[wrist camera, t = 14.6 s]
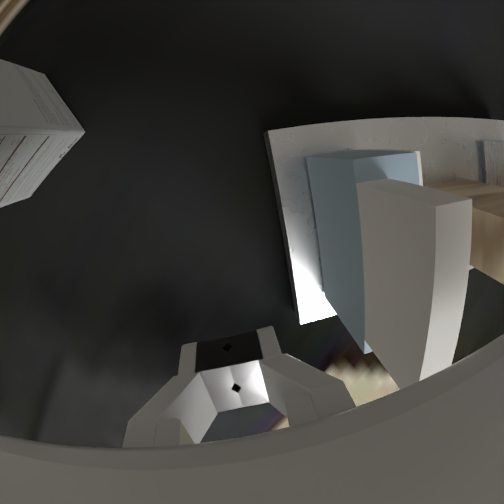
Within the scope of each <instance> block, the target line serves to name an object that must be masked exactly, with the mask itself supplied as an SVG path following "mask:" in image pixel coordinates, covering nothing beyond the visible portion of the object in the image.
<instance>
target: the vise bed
mask: <svg viewBox="0 0 504 504" xmlns="http://www.w3.org/2000/svg"><path fill="white" fill-rule="evenodd" d="M263 134H264V139H265V144H266V149H267V155H268V160H269V165H270V170H271V175H272V181H273V186H274V191H275V197H276V202H277V208H278V213H279V219H280V225H281V230H282V236H283V242H284V248H285V254H286V260H287V266H288V272H289V278H290V284H291V291H292V297H293V304H294V310H295V313H296V315H297V317H298V320H299V322H300V324H304V323H308V322H312V321H315V320H319V319H323V318H326V317H330V316H334V315H337V314H336V312H335V311H334V309H333V308H332V307H331V305H330V304H329V302H328V301H327V300H326V298H325V294H324V284H323V275H322V266H321V257H320V249H319V241H318V233H317V226H316V219H315V212H314V205H313V198H312V192H311V186H310V179H309V173H308V167H307V162H306V156H312V155H319V154H326V153H333V152H340V151H348V150H359V149H391V150H412V151H420V158H421V168H422V179H423V186H429V185H435V184H441V183H448V182H454V181H460V180H467V179H468V180H473V181H478V182H482V183H486V184H491V185H495V186H499V187H503V188H504V120H493V119H479V118H459V117H399V118H377V119H362V120H350V121H339V122H329V123H320V124H312V125H304V126H297V127H290V128H283V129H277V130H270V131H267V132H265V133H263ZM472 268H475V267H473V266H471V265H469V270H470V269H472Z"/></svg>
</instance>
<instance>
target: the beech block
mask: <svg viewBox="0 0 504 504" xmlns="http://www.w3.org/2000/svg"><path fill="white" fill-rule="evenodd" d="M425 187H429V188H433V189H437V190H441V191H445V192H449V193H453V194H457V195H460V196H464V197H468V198H471V199H472V235H471V251H470V263H469V265H471V266H473V267H475V268H476V269H478V270H480V271H482V272H483V273H485V274H487V275H489V276H490V277H492V278H494V279H495V280H497V281H499V282H500V283H502V284H504V188H503V187H499V186H495V185H491V184H486V183H482V182H478V181H473V180H468V179H467V180H460V181H454V182H448V183H441V184H435V185H429V186H425Z"/></svg>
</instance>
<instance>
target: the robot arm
mask: <svg viewBox="0 0 504 504" xmlns="http://www.w3.org/2000/svg"><path fill="white" fill-rule="evenodd" d="M257 333H258V334H257ZM258 337H259V338H258ZM267 402H269V403H270V404H271V405H272V406H274V407H275V408H276V409H277V410H278V411H280V412H281V413H282V414H283V415H285V416H286V417H287V418H288V421H289V426H290V427H287V428H283V429H279V430H274V431H270V432H265V433H260V434H255V435H250V436H245V437H239V438H233V439H227V440H220V441H213V442H205V443H200V441H201V440H202V438H203V436H204V435H205V433H206V432H207V430H208V428H209V427H210V425H211V423H212V422H213V420H214V418H215V417H216V415H217V412H221V411H226V410H231V409H236V408H241V407H246V406H252V405H257V404H262V403H267ZM0 504H504V334H503V335H501V336H500V337H498V338H496V339H495V340H493V341H492V342H490V343H489V344H487V345H485V346H484V347H482V348H481V349H479V350H477V351H476V352H474V353H472V354H470V355H469V356H467V357H465V358H463V359H462V360H460V361H458V362H456V363H454V364H453V365H451V366H449V367H447V368H445V369H443V370H441V371H439V372H437V373H435V374H433V375H431V376H429V377H427V378H425V379H423V380H421V381H419V382H416V383H414V384H412V385H410V386H408V387H405V388H403V389H401V390H399V391H396V392H394V393H392V394H389V395H387V396H384V397H382V398H379V399H377V400H374V401H372V402H369V403H366V404H363V405H361V406H358V407H356V405H355V403H354V402H353V400H352V398H351V396H350V394H349V392H348V390H347V388H346V386H345V384H344V382H343V381H341V380H339V379H337V378H335V377H333V376H331V375H329V374H327V373H324V372H322V371H320V370H318V369H316V368H314V367H312V366H310V365H308V364H306V363H304V362H302V361H300V360H298V359H296V358H294V357H292V356H290V355H288V354H283V355H282V353H281V350H280V347H279V344H278V341H277V338H276V335H275V332H274V329H273V327H272V326H268V327H265V328H261V329H257V330H254V331H250V332H246V333H242V334H238V335H234V336H229V337H222V338H217V339H211V340H206V341H200V342H194V343H189V344H184V345H183V346H182V348H181V355H180V362H179V369H178V376H173V377H172V378H171V379H170V380H169V381H168V382H167V383H166V384H165V385H164V386H163V387H162V388H161V389H160V390H159V391H158V392H157V393H156V394H155V395H154V396H153V397H152V398H151V399H150V400H149V401H148V402H147V403H146V404H145V405H144V406H143V407H142V408H141V409H140V410H139V411H138V412H137V413H136V414H135V415H134V416H133V417H132V418H131V419H129V420H128V424H127V429H126V433H125V437H124V441H123V446H122V448H111V447H86V446H72V445H62V444H53V443H45V442H38V441H31V440H25V439H20V438H15V437H10V436H5V435H0Z"/></svg>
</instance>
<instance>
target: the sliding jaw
mask: <svg viewBox="0 0 504 504" xmlns="http://www.w3.org/2000/svg"><path fill="white" fill-rule="evenodd" d="M306 162H307V167H308V173H309V179H310V186H311V192H312V198H313V205H314V212H315V219H316V226H317V233H318V241H319V249H320V257H321V266H322V275H323V284H324V294H325V298H326V300H327V301H328V302H329V304H330V305H331V307H332V308H333V309H334V311H335V312H336V314H337V315H338V317H339V318H340V319H341V321H342V322H343V324H344V325H345V327H346V328H347V329H348V331H349V332H350V334H351V335H352V337H353V338H354V340H355V341H356V342H357V344H358V345H359V347H360V348H361V350H362V351H363V353H364V354H366V353H369V352H372V351H373V352H374V353H375V355H376V356H377V357H378V359H379V360H380V362H381V363H382V364H383V366H384V367H385V369H386V370H387V371H388V373H389V374H390V376H391V377H392V378H393V380H394V381H395V383H396V384H397V385H398V387H399V388H400V390H401V389H403V388H405V387H408V386H410V385H412V384H414V383H416V382H419V381H421V380H423V379H425V378H427V377H429V376H431V375H433V374H435V373H437V372H439V371H441V370H443V369H445V368H447V367H449V366H451V364H452V360H453V356H454V352H455V348H456V344H457V339H458V335H459V330H460V325H461V320H462V314H463V309H464V303H465V296H466V289H467V282H468V273H469V263H470V251H471V235H472V199H471V198H468V197H464V196H460V195H457V194H453V193H449V192H445V191H441V190H437V189H433V188H429V187H425V186H423V179H422V168H421V158H420V151H412V150H391V149H359V150H348V151H340V152H333V153H326V154H319V155H312V156H306Z"/></svg>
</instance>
